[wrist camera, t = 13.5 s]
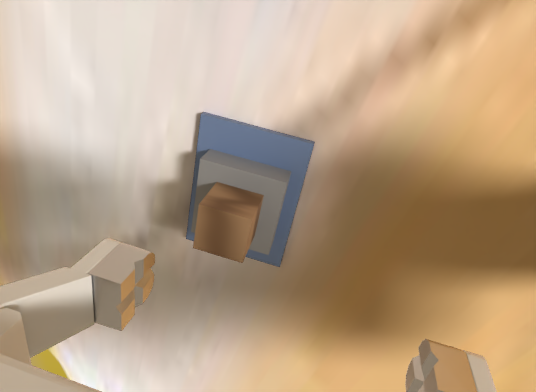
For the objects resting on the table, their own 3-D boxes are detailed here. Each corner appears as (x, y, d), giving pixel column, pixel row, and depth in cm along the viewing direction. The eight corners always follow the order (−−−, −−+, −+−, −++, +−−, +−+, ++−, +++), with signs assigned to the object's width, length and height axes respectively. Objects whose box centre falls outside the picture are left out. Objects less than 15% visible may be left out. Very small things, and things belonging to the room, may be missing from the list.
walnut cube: (264, 195, 37) (251, 219, 33) (254, 235, 40) (242, 263, 35) (217, 181, 38) (198, 204, 33) (210, 222, 40) (193, 247, 36)
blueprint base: (314, 141, 38) (310, 154, 34) (280, 263, 45) (274, 283, 42) (203, 112, 39) (189, 121, 36) (188, 235, 46) (175, 252, 43)
